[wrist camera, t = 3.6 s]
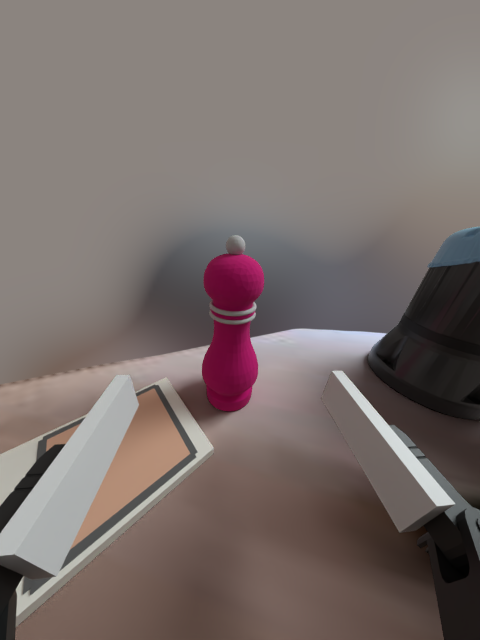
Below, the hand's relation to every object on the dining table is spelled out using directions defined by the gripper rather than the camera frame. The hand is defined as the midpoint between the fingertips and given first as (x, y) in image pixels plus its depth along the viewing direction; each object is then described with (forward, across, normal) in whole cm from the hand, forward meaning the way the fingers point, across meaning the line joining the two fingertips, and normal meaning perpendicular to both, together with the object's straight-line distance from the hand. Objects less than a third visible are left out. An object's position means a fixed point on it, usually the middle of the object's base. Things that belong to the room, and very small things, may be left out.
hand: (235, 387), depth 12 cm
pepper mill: (+9, 0, -11) cm, 14 cm away
